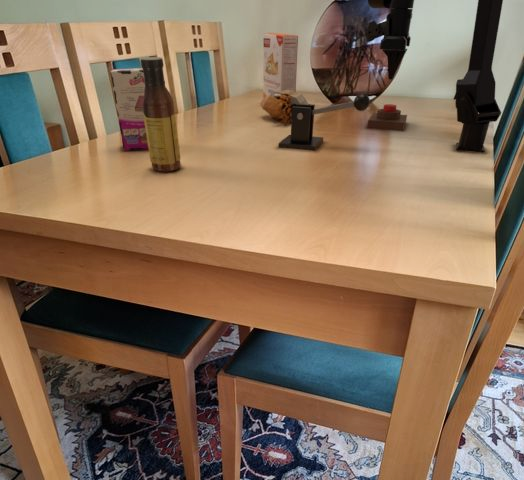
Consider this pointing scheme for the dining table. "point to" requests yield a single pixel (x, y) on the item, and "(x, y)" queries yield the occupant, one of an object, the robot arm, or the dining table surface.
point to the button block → (387, 120)
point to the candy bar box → (130, 107)
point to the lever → (347, 105)
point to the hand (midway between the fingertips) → (390, 79)
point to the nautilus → (282, 104)
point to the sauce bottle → (159, 118)
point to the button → (389, 108)
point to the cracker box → (279, 62)
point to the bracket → (302, 130)
